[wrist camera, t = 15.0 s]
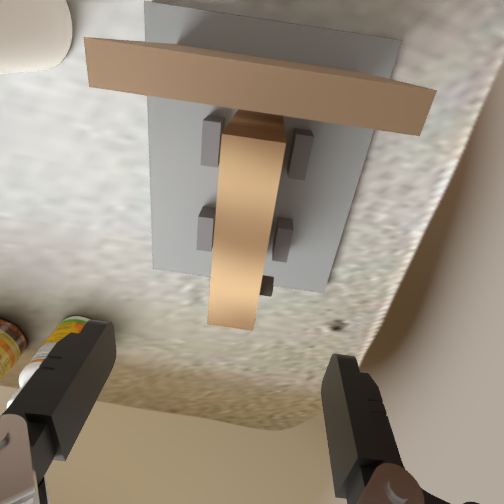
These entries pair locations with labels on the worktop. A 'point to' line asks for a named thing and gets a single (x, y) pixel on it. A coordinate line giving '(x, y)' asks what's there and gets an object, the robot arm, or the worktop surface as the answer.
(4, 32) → the can
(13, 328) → the sauce bottle
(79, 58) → the worktop surface
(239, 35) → the grey and brown stand
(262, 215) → the long tan wooden block
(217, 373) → the worktop surface
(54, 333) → the supplement bottle
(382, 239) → the worktop surface
